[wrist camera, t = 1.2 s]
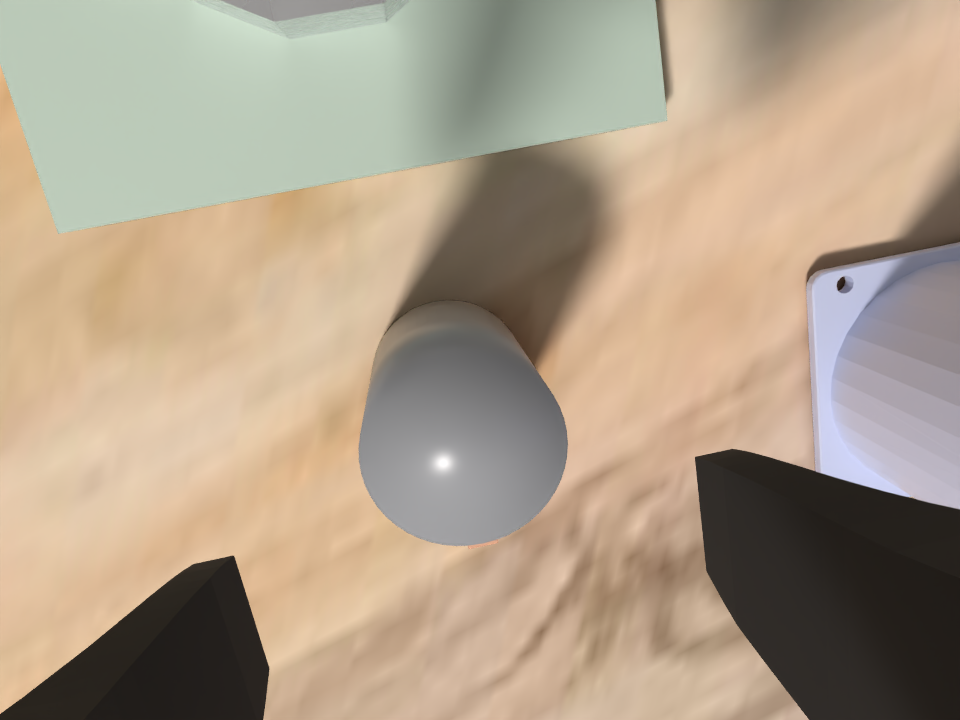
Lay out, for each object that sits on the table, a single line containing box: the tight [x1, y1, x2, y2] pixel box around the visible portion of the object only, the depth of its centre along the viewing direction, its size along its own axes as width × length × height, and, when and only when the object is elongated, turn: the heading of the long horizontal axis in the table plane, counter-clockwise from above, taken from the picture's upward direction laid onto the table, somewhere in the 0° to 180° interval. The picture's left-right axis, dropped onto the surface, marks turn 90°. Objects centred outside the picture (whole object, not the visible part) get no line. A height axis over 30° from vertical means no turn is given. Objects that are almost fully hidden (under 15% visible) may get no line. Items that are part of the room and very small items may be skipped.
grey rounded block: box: [359, 300, 568, 549], centre depth 18 cm, size 4×5×6 cm
